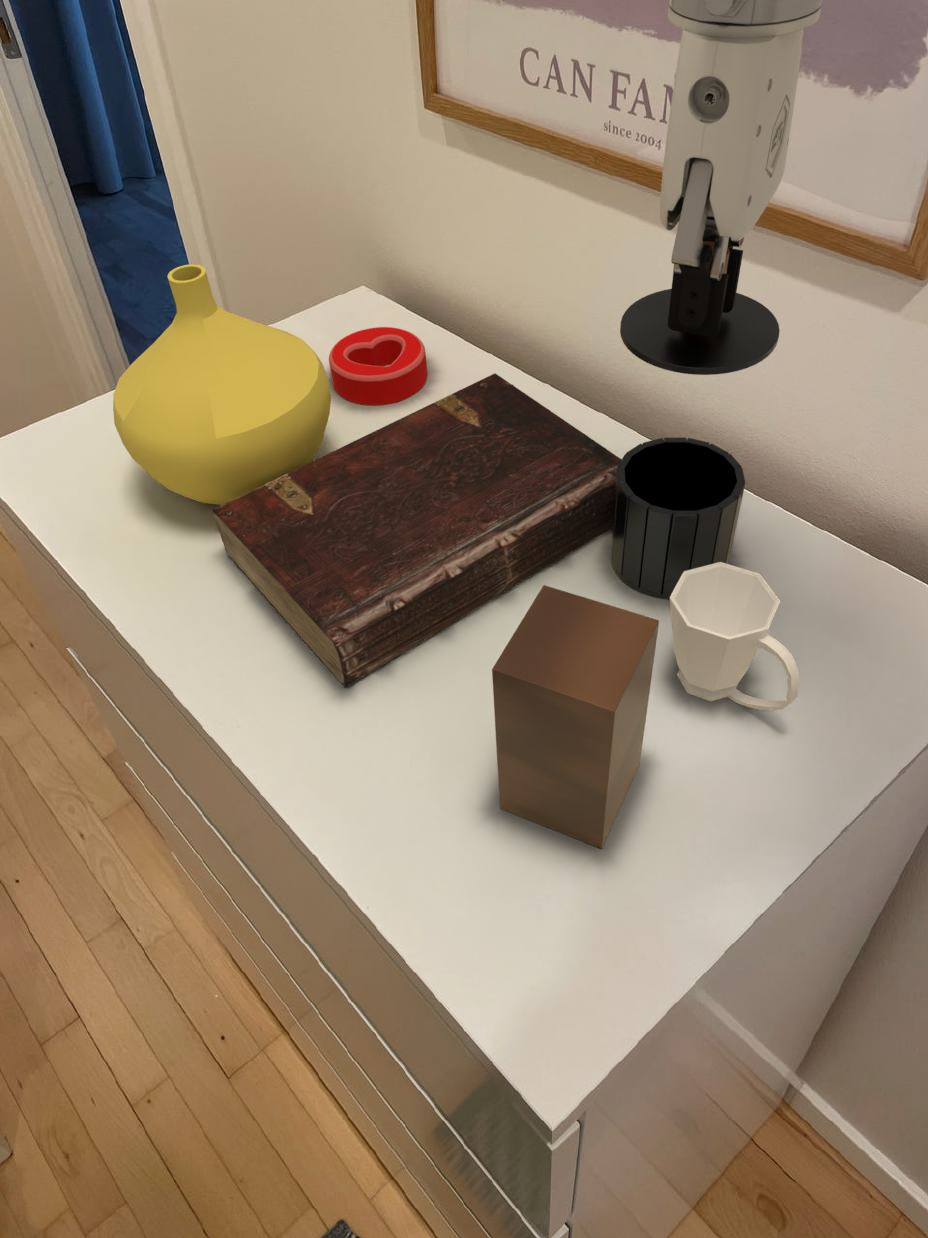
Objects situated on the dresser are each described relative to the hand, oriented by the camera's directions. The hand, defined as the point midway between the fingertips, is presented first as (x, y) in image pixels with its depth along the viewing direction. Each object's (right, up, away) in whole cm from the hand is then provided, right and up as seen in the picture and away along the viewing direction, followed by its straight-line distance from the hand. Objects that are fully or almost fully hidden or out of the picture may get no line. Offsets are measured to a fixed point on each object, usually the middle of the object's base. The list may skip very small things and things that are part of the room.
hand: (700, 316), depth 60 cm
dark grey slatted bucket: (+1, -14, +15) cm, 21 cm away
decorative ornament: (-24, +5, +36) cm, 43 cm away
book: (-18, -12, +19) cm, 29 cm away
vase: (-35, -6, +27) cm, 45 cm away
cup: (+3, -24, +6) cm, 25 cm away
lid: (0, -1, +1) cm, 1 cm away
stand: (-8, -30, +2) cm, 31 cm away
